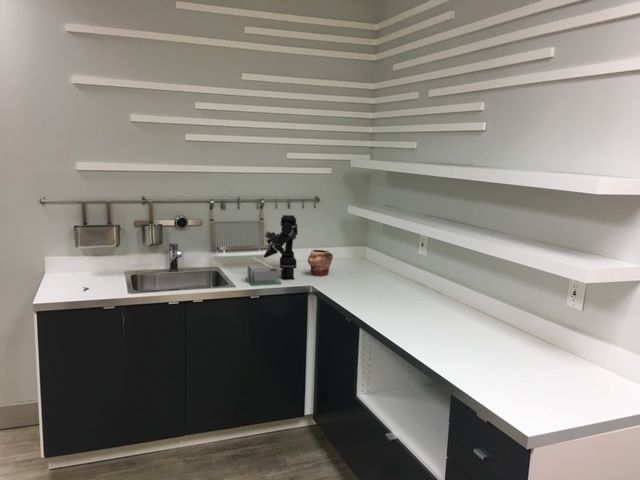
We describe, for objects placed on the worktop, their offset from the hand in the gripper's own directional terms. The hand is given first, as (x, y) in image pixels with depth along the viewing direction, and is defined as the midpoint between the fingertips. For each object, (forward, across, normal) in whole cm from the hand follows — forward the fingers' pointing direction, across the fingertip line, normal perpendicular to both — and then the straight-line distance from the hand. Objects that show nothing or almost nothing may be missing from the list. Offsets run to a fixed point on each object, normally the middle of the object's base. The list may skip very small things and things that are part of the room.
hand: (264, 257), depth 280 cm
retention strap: (+3, 0, +3) cm, 4 cm away
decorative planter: (-16, -10, +36) cm, 40 cm away
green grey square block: (+10, 0, +9) cm, 13 cm away
